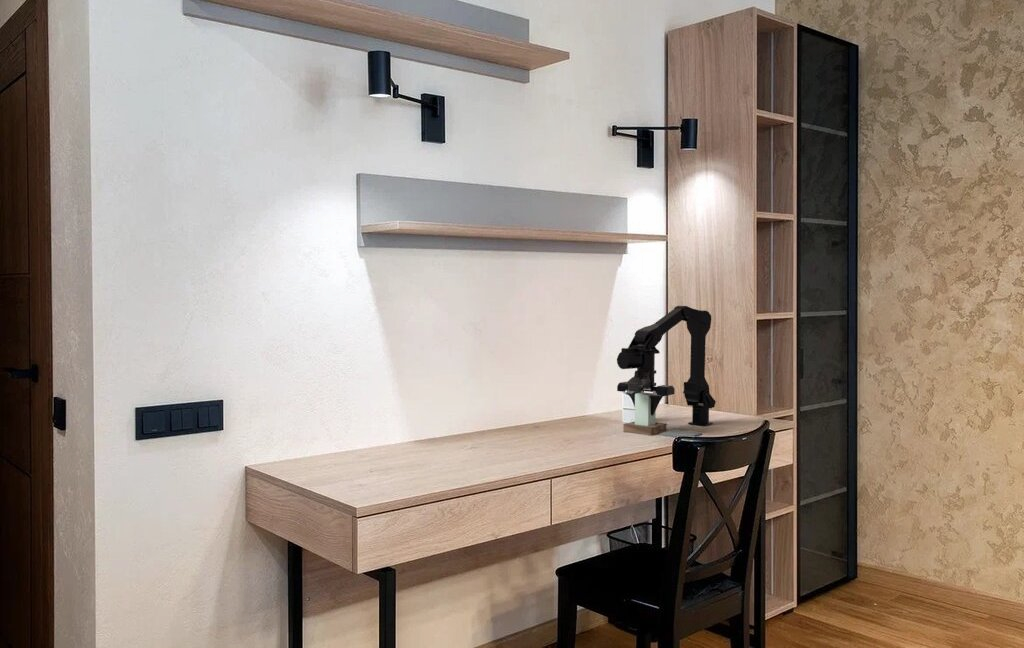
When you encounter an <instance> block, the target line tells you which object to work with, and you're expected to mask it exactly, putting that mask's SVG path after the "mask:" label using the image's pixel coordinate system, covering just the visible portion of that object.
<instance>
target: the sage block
mask: <svg viewBox="0 0 1024 648" xmlns="http://www.w3.org/2000/svg"><path fill="white" fill-rule="evenodd" d="M650 395H653V392H646V391H644V392H641V393H637V394H635V425H643V426H652V425H655V422H656V411H657V410H656V411H655V413H654V415H651V398H650Z"/></svg>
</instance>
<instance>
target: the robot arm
mask: <svg viewBox="0 0 1024 648" xmlns="http://www.w3.org/2000/svg"><path fill="white" fill-rule="evenodd" d="M682 321H683V322H685V324H686V329H687V331H688V333H689V334H690V360H689V361H690V362H689V365H690V366H689V368H690V369H689V375H690V376H689V378H688V380H687V381H684V382H683V391H682V394H684V395H683V396H684V399H685V401H686V405H687V406H688V407H690V406H691V407H692V410H691V412H692V414H691V415H692V416H691V417H692V418H691V421H689V422H687V423H688V425H695V426H703V427H704V426H709V425H712V424H713V423H714V422H713V421H710V409H712V408H715V407H716V403H717V402H716V400H715V399H714V397H713V396H712V395H711V394H710V386H709V383H708V381H707V380H706V341H707V340H706V337H707V335H708V333H709V331H710V330H711V325H712V314H711V313H710V312H709V311H707V310H705V309H704V310H701V309H695V308H692V307H690V306H688V305H676V306H675V307H673V309H672V310H671V311H669V312H668V313H666V314H665V315H664V316H662V317H661V318H660V319H658V320H657V321H656V322H654V323H652V324H650V325H647V326H644V327H642V328H639V329H637V330H636V331H635V333H634V336H633V338H632V340H631V341H630V343H629V345H628V347H627V348H626V347H621V349H620V350H621V351H620V352H619V353H618V355H617V358H616V363H617V365H618V366H617V367H618V368H619V369H621V370H630V369H636V370H634V375H633V377H631V378H630V379H629V380H627V381H622V382H619V383H618V384H617V386H616V389H617V390H616V391H617V392H625V391H626V390H627V393H626V394H627V395H629V396H630V397H631V399H632V401H633V404H634V407H635V394H637V393H641V392H642V391H644V392H647V393H653V395H650V398H651V415H654V413H655V411H657V408H658V406H659V404H660V402H661V400H662V399H663V397H668V396H672V395H675V392H676V391H675V387H674V385H670V384H669V385H667V384H660V385H657V382H655V374H657V369H656V370H655V364H656V363H655V362H656V361H655V358H656V354H658V355H659V354H660V353H661V352H660V351H659V349H657V347H656V346H657V345H658V344H659V343H660V342H661V341H662V339H663V336H664V335H665V334H667V333H668V332H670V330H672V329H673V328H674V327H675V326H676V325H678V324H679V323H681V322H682Z"/></svg>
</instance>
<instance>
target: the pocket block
mask: <svg viewBox="0 0 1024 648" xmlns="http://www.w3.org/2000/svg"><path fill="white" fill-rule="evenodd" d="M622 425H623V427H622V430H623V432H624V433H631V434H639V435H646V436H654V435H658V434H660V433H663V432H667V431H668V430H667V423H666V422H657V421H655V425H652V426H643V425H635V421H634V422H630V423H623V424H622Z"/></svg>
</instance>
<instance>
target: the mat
mask: <svg viewBox="0 0 1024 648" xmlns="http://www.w3.org/2000/svg"><path fill="white" fill-rule="evenodd" d="M700 435H702V432H700V431H699V432H697V431H689V430H681V429H674V428H673V429H670V430H667V431H665V432H661V433H659V436H662V437H663V436H664V437H670V438H671V437H672V438H678V437H677V436H695V437H698V436H700Z"/></svg>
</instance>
